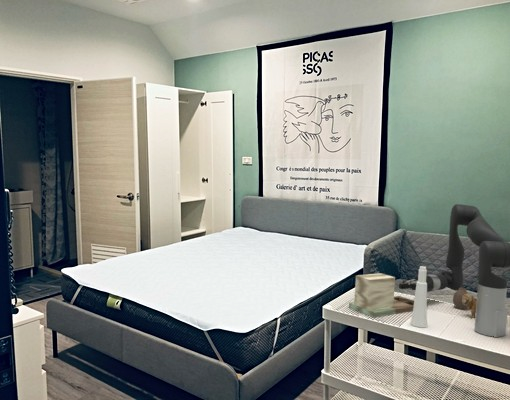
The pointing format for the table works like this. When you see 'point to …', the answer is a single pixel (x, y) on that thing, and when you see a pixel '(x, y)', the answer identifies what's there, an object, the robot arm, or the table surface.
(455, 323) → the table surface
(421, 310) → the cosmetic bottle
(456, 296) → the vase
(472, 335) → the table surface
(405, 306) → the trap box
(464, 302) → the lion figurine
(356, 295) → the maple block
